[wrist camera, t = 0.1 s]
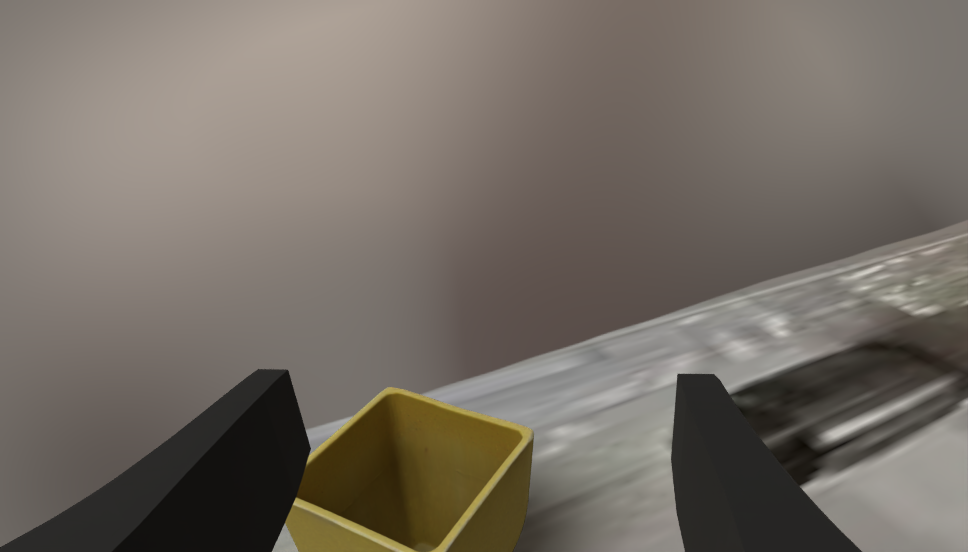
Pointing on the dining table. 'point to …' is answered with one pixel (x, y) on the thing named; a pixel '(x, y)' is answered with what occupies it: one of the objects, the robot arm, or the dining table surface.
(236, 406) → the robot arm
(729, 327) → the dining table surface
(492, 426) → the flower pot
